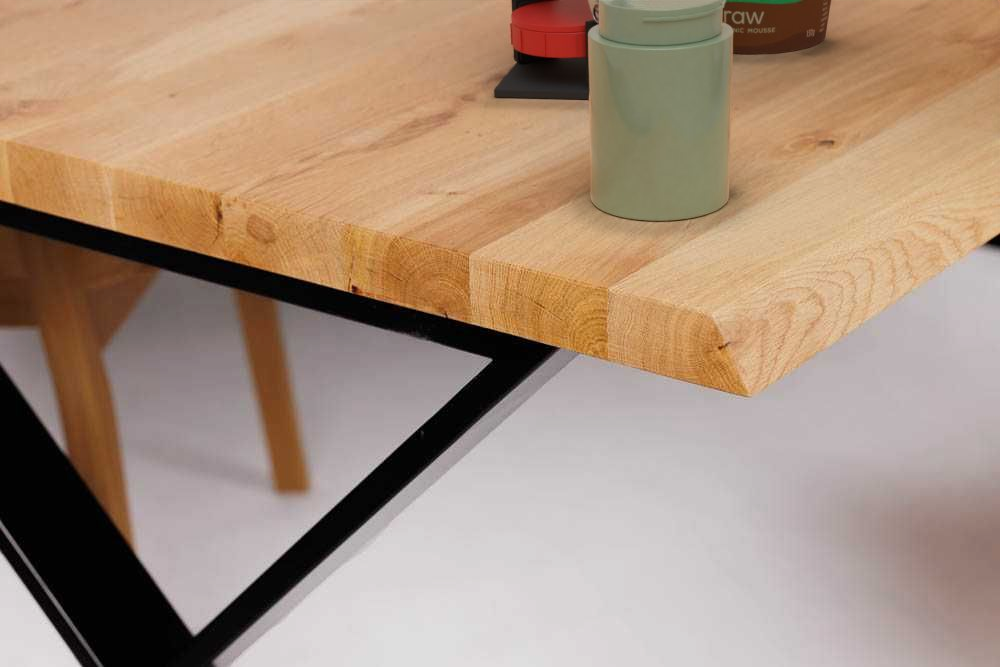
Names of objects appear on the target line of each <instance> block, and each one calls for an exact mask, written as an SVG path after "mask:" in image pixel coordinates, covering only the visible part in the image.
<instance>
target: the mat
mask: <svg viewBox="0 0 1000 667" xmlns="http://www.w3.org/2000/svg"><path fill="white" fill-rule="evenodd" d="M493 97H494V98H509V99H510V98H511V99H512V98H514V99H515V98H516V99H520V98H521V99H551V100H552V99H555V100H556V99H557V100H589V88H588V86H587V83H586V57H579V58H550V59H545V60H540V61H535V62H530V63H525V64H521V63H518V62H516V63H515V64H514V65H513V66H512V68H511V69H510V70H509V71H508V72H507V74H505V76H504V77H503V78H502V80H500V81H499V83H498V84H497V85H496V86H495V87H494V89H493Z"/></svg>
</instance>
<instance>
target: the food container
mask: <svg viewBox="0 0 1000 667" xmlns="http://www.w3.org/2000/svg"><path fill="white" fill-rule="evenodd" d="M831 4H832V0H726V4H725V6H724V8H723V22H724V23H726V24H728V25H730V26H731V27H732V29H733V31H734V33H733V54H742V55H761V54H762V55H763V54H765V55H766V54H779V53H786V52H793V51H794V52H795V51H799V50H803V49H807V48H810V47H813V46H816V45H818V44H820V43H822V42H823V41H824V40H825V38H826V35H827V29H828V23H829V16H830V12H831Z"/></svg>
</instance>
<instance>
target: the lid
mask: <svg viewBox="0 0 1000 667" xmlns="http://www.w3.org/2000/svg"><path fill="white" fill-rule="evenodd" d="M510 17H511V18H510V20H511V22H510V23H509V28H510V45H511V46H512V48H513V47H514V49H516V50H517V51H519V52H522V53H525V54H528V55H533V56H539V57H550V58H579V57H586V45H585V22H586V21H591V20H594V19H593V17H592V14H591V10H590V7H589V4H588V0H552V1H545V2H539V3H533V4H529V5H526V6H523V7H520V8H518V9H516V10H514V11H513V12H512V11H511V14H510Z"/></svg>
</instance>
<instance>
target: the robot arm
mask: <svg viewBox="0 0 1000 667" xmlns="http://www.w3.org/2000/svg"><path fill="white" fill-rule="evenodd" d="M545 1H552V0H510V2H511V13H512V12H513V11H514V10H516V9H518V8H520V7H523V6H526V5H529V4H533V3H539V2H545ZM588 4H589V7H590V10H591V14H592V17H593V19H594V20H591V21H586V22H585V45H586V83H587V86H588V88H589V78H588V32H589V30H590V29H591V28H592V27H594V26H596V25H598V24H599V19H598V3H596V2H595V0H588ZM512 48H513V50H512V51H513V59H514V61H515V62H516V63H517V62H518V63H521V64H525V63H530V62H535V61H540V60H545V59H550V57H539V56H533V55H528V54H525V53H522V52H519V51H517V50H516V49H514V47H513V46H512Z"/></svg>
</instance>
